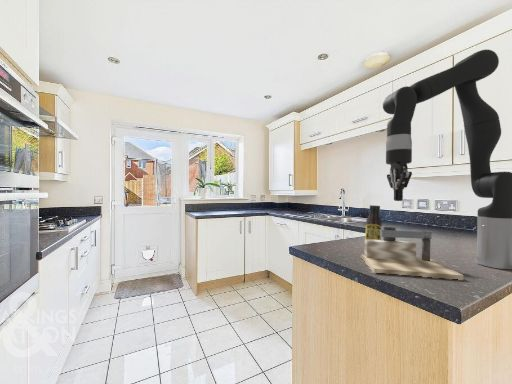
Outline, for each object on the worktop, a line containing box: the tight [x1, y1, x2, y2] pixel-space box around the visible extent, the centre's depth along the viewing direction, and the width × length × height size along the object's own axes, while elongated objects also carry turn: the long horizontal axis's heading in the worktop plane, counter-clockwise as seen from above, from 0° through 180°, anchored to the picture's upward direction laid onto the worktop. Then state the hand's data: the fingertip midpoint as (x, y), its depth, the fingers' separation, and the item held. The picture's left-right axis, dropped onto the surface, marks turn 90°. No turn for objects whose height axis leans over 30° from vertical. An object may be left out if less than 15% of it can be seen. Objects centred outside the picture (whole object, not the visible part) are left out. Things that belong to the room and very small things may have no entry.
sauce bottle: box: [364, 204, 383, 240], centre depth 104 cm, size 6×6×20 cm
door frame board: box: [360, 226, 464, 281], centre depth 80 cm, size 24×18×12 cm
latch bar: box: [380, 228, 432, 240], centre depth 85 cm, size 16×3×2 cm, turn 81°
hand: (398, 200), depth 80 cm, fingers closed
